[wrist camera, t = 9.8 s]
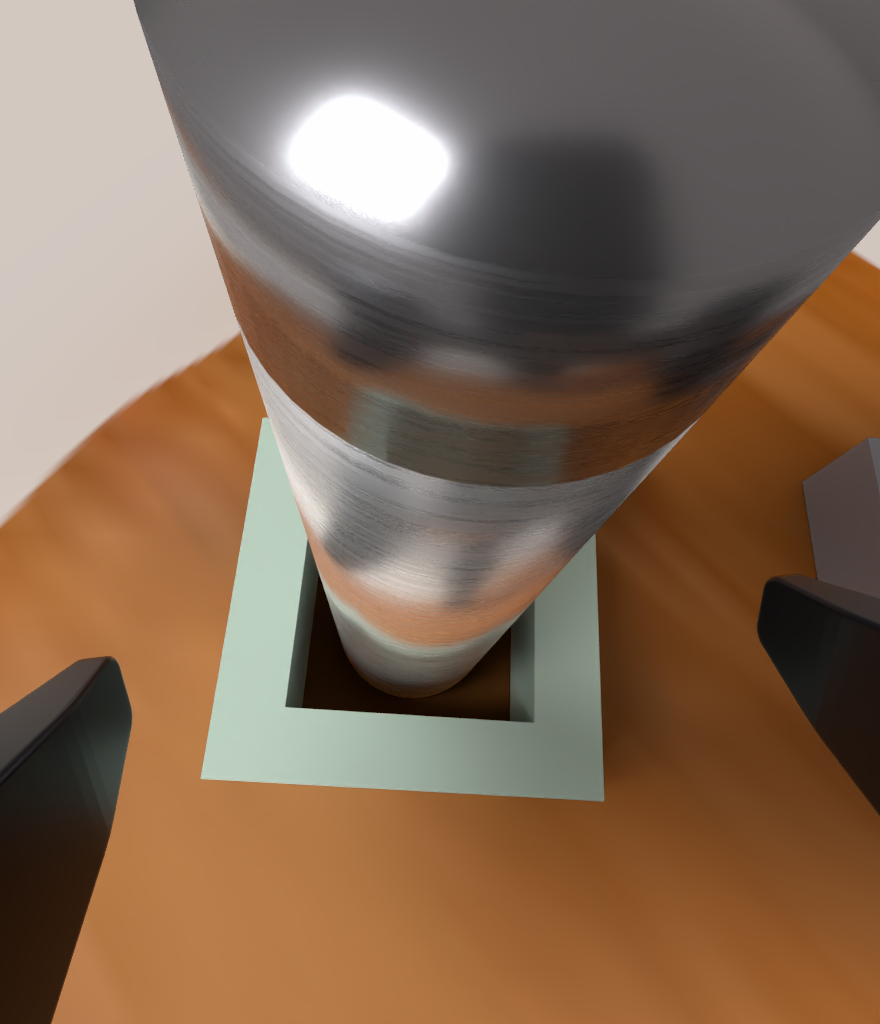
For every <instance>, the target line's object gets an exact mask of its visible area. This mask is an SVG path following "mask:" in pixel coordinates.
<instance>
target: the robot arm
mask: <svg viewBox="0 0 880 1024" xmlns="http://www.w3.org/2000/svg"><path fill="white" fill-rule="evenodd" d="M757 632H758V637H759V639H760V642H761V644H762V646H763V647H764V649H765V650H766V652H767V654H768V655H769V657H770V659H771V660H772V662H773V663H774V665H775V667H776V668H777V670H778V672H779V673H780V675H781V676H782V678H783V680H784V681H785V683H786V685H787V686H788V688H789V689H790V691H791V693H792V694H793V696H794V698H795V699H796V701H797V702H798V704H799V706H800V707H801V709H802V711H803V712H804V714H805V715H806V717H807V718H808V720H809V722H810V723H811V725H812V726H813V728H814V729H815V731H816V732H817V733H818V735H819V736H820V738H821V739H822V740H823V742H824V743H825V744H826V746H827V747H828V748H829V750H830V751H831V752H832V754H833V755H834V756H835V758H836V759H837V760H838V762H839V763H840V764H841V766H842V767H843V768H844V770H845V771H846V772H847V774H848V775H849V776H850V777H851V779H852V780H853V781H854V783H855V784H856V785H857V787H858V788H859V789H860V791H861V792H862V793H863V795H864V796H865V797H866V799H867V800H868V801H869V803H870V804H871V805H872V806H873V808H874V809H875V810H876V812H877V813H878V814H879V816H880V598H877V597H874V596H871V595H867V594H864V593H860V592H857V591H854V590H850V589H847V588H844V587H840V586H837V585H834V584H830V583H827V582H823V581H820V580H817V579H813V578H810V577H807V576H803V575H799V574H790V575H782V576H774V577H771V578H770V579H768V580H767V582H766V583H765V586H764V590H763V595H762V601H761V606H760V612H759V617H758V623H757ZM131 726H132V710H131V705H130V701H129V698H128V694H127V691H126V687H125V684H124V680H123V677H122V673H121V670H120V667H119V664H118V662H117V661H116V659H114V658H113V657H111V656H105V657H96V658H88V659H81V660H78V661H77V662H75V663H74V664H72V665H71V666H69V667H68V668H66V669H65V670H63V671H62V672H60V673H59V674H58V675H56V676H55V677H53V678H52V679H50V680H49V681H47V682H46V683H44V684H43V685H41V686H40V687H38V688H37V689H36V690H34V691H33V692H31V693H30V694H28V695H27V696H25V697H24V698H22V699H21V700H19V701H18V702H17V703H15V704H14V705H12V706H11V707H9V708H8V709H6V710H5V711H3V712H2V713H0V1024H51V1022H52V1019H53V1016H54V1013H55V1010H56V1007H57V1003H58V1000H59V997H60V994H61V991H62V988H63V984H64V981H65V978H66V975H67V972H68V969H69V966H70V962H71V959H72V956H73V953H74V950H75V947H76V943H77V940H78V937H79V934H80V931H81V928H82V924H83V921H84V918H85V915H86V912H87V909H88V905H89V902H90V899H91V896H92V893H93V890H94V886H95V883H96V880H97V877H98V874H99V871H100V868H101V864H102V861H103V858H104V855H105V851H106V848H107V844H108V841H109V837H110V833H111V829H112V824H113V820H114V815H115V810H116V804H117V799H118V794H119V789H120V784H121V778H122V773H123V768H124V763H125V758H126V752H127V747H128V742H129V737H130V732H131Z"/></svg>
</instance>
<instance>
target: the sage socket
mask: <svg viewBox="0 0 880 1024" xmlns="http://www.w3.org/2000/svg"><path fill="white" fill-rule="evenodd" d="M318 576H319V571H318V568H317V565H316V562H315V559H314V556H313V553H312V550H311V547H310V544H309V541H308V538H307V534H306V531H305V528H304V525H303V522H302V519H301V516H300V513H299V510H298V507H297V504H296V501H295V498H294V494H293V491H292V488H291V485H290V482H289V479H288V476H287V473H286V470H285V467H284V464H283V461H282V457H281V454H280V451H279V448H278V445H277V442H276V439H275V436H274V433H273V430H272V427H271V424H270V421H269V418H263V420H262V426H261V432H260V437H259V443H258V449H257V455H256V461H255V467H254V472H253V478H252V484H251V490H250V496H249V501H248V507H247V513H246V519H245V525H244V530H243V536H242V542H241V548H240V554H239V559H238V565H237V571H236V577H235V583H234V588H233V594H232V600H231V606H230V612H229V617H228V623H227V629H226V635H225V641H224V646H223V652H222V658H221V664H220V670H219V675H218V681H217V687H216V693H215V699H214V704H213V710H212V716H211V722H210V728H209V733H208V739H207V745H206V751H205V757H204V762H203V768H202V774H201V779H213V780H231V781H249V782H267V783H285V784H302V785H320V786H338V787H356V788H374V789H392V790H409V791H427V792H445V793H463V794H481V795H499V796H516V797H534V798H552V799H570V800H588V801H604V776H603V746H602V716H601V686H600V657H599V627H598V597H597V567H596V537H595V534H594V535H593V536H592V537H591V538H590V539H589V540H588V542H587V543H586V544H585V545H584V546H583V547H582V548H581V549H580V550H579V552H578V553H577V554H576V555H575V556H574V557H573V558H572V559H571V560H570V561H569V563H568V564H567V565H566V566H565V567H564V568H563V569H562V570H561V571H560V572H559V574H558V575H557V576H556V577H555V578H554V579H553V580H552V581H551V582H550V583H549V585H548V586H547V587H546V588H545V589H544V590H543V591H542V592H541V593H540V594H539V596H538V597H537V598H536V599H535V600H534V601H533V602H532V603H531V604H530V606H529V607H528V608H527V609H526V610H525V611H524V612H523V613H522V614H521V615H520V617H519V618H518V619H517V620H516V621H515V622H514V623H513V624H512V625H511V674H510V721H497V720H481V719H465V718H449V717H433V716H417V715H402V714H386V713H370V712H354V711H338V710H322V709H306V708H302V704H303V696H304V688H305V680H306V672H307V664H308V656H309V648H310V640H311V632H312V624H313V616H314V608H315V600H316V592H317V584H318Z"/></svg>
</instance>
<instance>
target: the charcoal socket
mask: <svg viewBox="0 0 880 1024" xmlns="http://www.w3.org/2000/svg"><path fill="white" fill-rule="evenodd" d="M802 484H803V490H804V496H805V503H806V509H807V515H808V521H809V528H810V534H811V540H812V546H813V553H814V559H815V565H816V572H817V578H818V580H820V581H823V582H827V583H830V584H834V585H837V586H840V587H844V588H847V589H850V590H854V591H857V592H860V593H864V594H867V595H871V596H874V597H877V598H880V438H870V437H868V438H866V439H865V440H863V441H862V442H860V443H859V444H857V445H856V446H855V447H853V448H852V449H850V450H849V451H847V452H846V453H844V454H843V455H841V456H840V457H838V458H837V459H835V460H834V461H832V462H831V463H829V464H828V465H827V466H825V467H824V468H822V469H821V470H819V471H818V472H816V473H815V474H813V475H812V476H810V477H809V478H807V479H806V480H804V481H803V482H802Z"/></svg>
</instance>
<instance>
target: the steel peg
mask: <svg viewBox="0 0 880 1024" xmlns="http://www.w3.org/2000/svg"><path fill="white" fill-rule="evenodd" d="M134 3H135V7H136V11H137V14H138V17H139V20H140V23H141V26H142V29H143V32H144V36H145V38H146V41H147V45H148V48H149V51H150V54H151V57H152V60H153V63H154V66H155V69H156V72H157V76H158V78H159V81H160V85H161V88H162V91H163V94H164V97H165V100H166V103H167V106H168V109H169V113H170V115H171V119H172V122H173V125H174V128H175V131H176V134H177V137H178V140H179V143H180V146H181V149H182V153H183V156H184V159H185V162H186V165H187V168H188V171H189V174H190V177H191V180H192V183H193V186H194V189H195V192H196V195H197V199H198V202H199V205H200V208H201V211H202V214H203V217H204V220H205V223H206V226H207V230H208V233H209V236H210V239H211V242H212V245H213V248H214V251H215V254H216V257H217V260H218V263H219V267H220V270H221V273H222V276H223V279H224V282H225V285H226V288H227V291H228V294H229V297H230V300H231V303H232V307H233V310H234V313H235V316H236V318H237V322H238V325H239V328H240V331H241V334H242V337H243V340H244V344H245V347H246V350H247V353H248V356H249V359H250V362H251V365H252V368H253V371H254V374H255V377H256V380H257V384H258V387H259V390H260V393H261V396H262V399H263V402H264V405H265V408H266V411H267V414H268V417H269V421H270V424H271V427H272V430H273V433H274V436H275V439H276V442H277V445H278V448H279V451H280V454H281V457H282V461H283V464H284V467H285V470H286V473H287V476H288V479H289V482H290V485H291V488H292V491H293V494H294V498H295V501H296V504H297V507H298V510H299V513H300V516H301V519H302V522H303V525H304V528H305V531H306V534H307V538H308V541H309V544H310V547H311V550H312V553H313V556H314V559H315V562H316V565H317V568H318V571H319V575H320V578H321V581H322V584H323V587H324V590H325V593H326V596H327V599H328V602H329V605H330V608H331V611H332V615H333V618H334V621H335V624H336V627H337V630H338V633H339V636H340V639H341V642H342V645H343V648H344V651H345V653H346V656H347V658H348V660H349V661H350V663H351V665H352V666H353V668H354V669H355V670H356V671H357V673H358V674H359V675H360V676H361V677H362V678H363V679H364V680H365V681H367V682H368V683H369V684H371V685H372V686H374V687H375V688H377V689H379V690H381V691H383V692H385V693H388V694H391V695H394V696H399V697H406V698H421V697H427V696H432V695H435V694H438V693H441V692H443V691H445V690H447V689H449V688H451V687H452V686H454V685H455V684H457V683H458V682H459V681H460V680H462V679H463V678H464V677H465V676H466V675H467V674H468V673H469V672H470V671H471V669H472V668H473V667H474V666H475V665H476V664H477V663H478V662H479V661H480V660H481V658H482V657H483V656H484V655H485V654H486V653H487V652H488V651H489V650H490V648H491V647H492V646H493V645H494V644H495V643H496V642H497V641H498V640H499V639H500V637H501V636H502V635H503V634H504V633H505V632H506V631H507V630H508V629H509V628H510V626H511V625H512V624H513V623H514V622H515V621H516V620H517V619H518V618H519V617H520V615H521V614H522V613H523V612H524V611H525V610H526V609H527V608H528V607H529V606H530V604H531V603H532V602H533V601H534V600H535V599H536V598H537V597H538V596H539V594H540V593H541V592H542V591H543V590H544V589H545V588H546V587H547V586H548V585H549V583H550V582H551V581H552V580H553V579H554V578H555V577H556V576H557V575H558V574H559V572H560V571H561V570H562V569H563V568H564V567H565V566H566V565H567V564H568V563H569V561H570V560H571V559H572V558H573V557H574V556H575V555H576V554H577V553H578V552H579V550H580V549H581V548H582V547H583V546H584V545H585V544H586V543H587V542H588V540H589V539H590V538H591V537H592V536H593V535H594V534H595V533H596V532H597V531H598V529H599V528H600V527H601V526H602V525H603V524H604V523H605V522H606V521H607V520H608V518H609V517H610V516H611V515H612V514H613V513H614V512H615V511H616V510H617V509H618V507H619V506H620V505H621V504H622V503H623V502H624V501H625V500H626V499H627V497H628V496H629V495H630V494H631V493H632V492H633V491H634V490H635V489H636V488H637V486H638V485H639V484H640V483H641V482H642V481H643V480H644V479H645V478H646V477H647V475H648V474H649V473H650V472H651V471H652V470H653V469H654V468H655V467H656V466H657V464H658V463H659V462H660V461H661V460H662V459H663V458H664V457H665V456H666V455H667V453H668V452H669V451H670V450H671V449H672V448H673V447H674V446H675V445H676V443H677V442H678V441H679V440H680V439H681V438H682V437H683V436H684V435H685V434H686V432H687V431H688V430H689V429H690V428H691V427H692V426H693V425H694V424H695V423H696V421H697V420H698V419H699V418H700V417H701V416H702V415H703V414H704V413H705V412H706V410H707V409H708V408H709V407H710V406H711V405H712V404H713V403H714V402H715V401H716V399H717V398H718V397H719V396H720V395H721V394H722V393H723V392H724V391H725V389H726V388H727V387H728V386H729V385H730V384H731V383H732V382H733V381H734V380H735V378H736V377H737V376H738V375H739V374H740V373H741V372H742V371H743V370H744V369H745V367H746V366H747V365H748V364H749V363H750V362H751V361H752V360H753V359H754V358H755V356H756V355H757V354H758V353H759V352H760V351H761V350H762V349H763V348H764V347H765V345H766V344H767V343H768V342H769V341H770V340H771V339H772V338H773V337H774V335H775V334H776V333H777V332H778V331H779V330H780V329H781V328H782V327H783V326H784V324H785V323H786V322H787V321H788V320H789V319H790V318H791V317H792V316H793V315H794V313H795V312H796V311H797V310H798V309H799V308H800V307H801V306H802V305H803V304H804V302H805V301H806V300H807V299H808V298H809V297H810V296H811V295H812V294H813V293H814V291H815V290H816V289H817V288H818V287H819V286H820V285H821V284H822V283H823V281H824V280H825V279H826V278H827V277H828V276H829V275H830V274H831V273H832V272H833V270H834V269H835V268H836V267H837V266H838V265H839V264H840V263H841V262H842V261H843V259H844V258H845V257H846V256H847V255H848V254H849V253H850V252H851V251H852V250H853V248H854V247H855V246H856V245H857V244H858V243H859V242H860V241H861V240H862V239H863V237H864V236H865V235H866V234H867V233H868V232H869V231H870V230H871V229H872V227H873V226H874V225H875V224H876V223H877V222H878V221H879V220H880V0H134Z"/></svg>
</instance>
